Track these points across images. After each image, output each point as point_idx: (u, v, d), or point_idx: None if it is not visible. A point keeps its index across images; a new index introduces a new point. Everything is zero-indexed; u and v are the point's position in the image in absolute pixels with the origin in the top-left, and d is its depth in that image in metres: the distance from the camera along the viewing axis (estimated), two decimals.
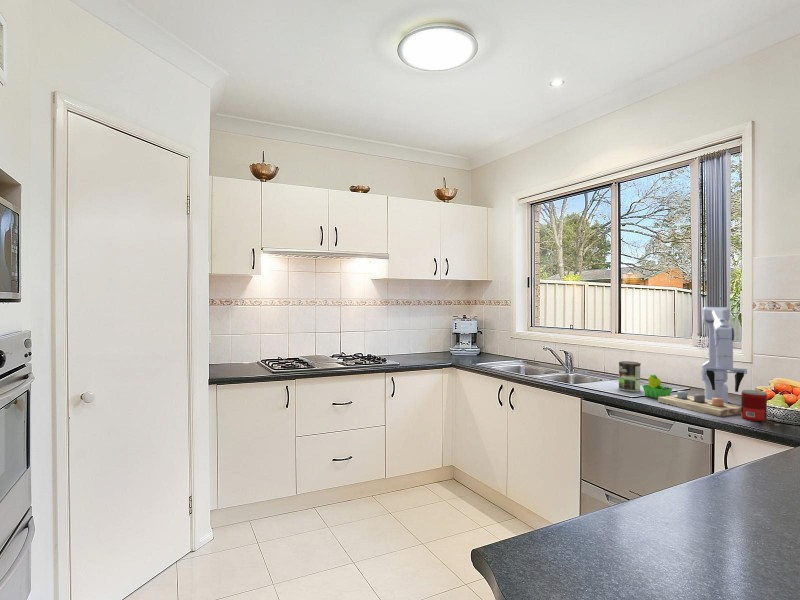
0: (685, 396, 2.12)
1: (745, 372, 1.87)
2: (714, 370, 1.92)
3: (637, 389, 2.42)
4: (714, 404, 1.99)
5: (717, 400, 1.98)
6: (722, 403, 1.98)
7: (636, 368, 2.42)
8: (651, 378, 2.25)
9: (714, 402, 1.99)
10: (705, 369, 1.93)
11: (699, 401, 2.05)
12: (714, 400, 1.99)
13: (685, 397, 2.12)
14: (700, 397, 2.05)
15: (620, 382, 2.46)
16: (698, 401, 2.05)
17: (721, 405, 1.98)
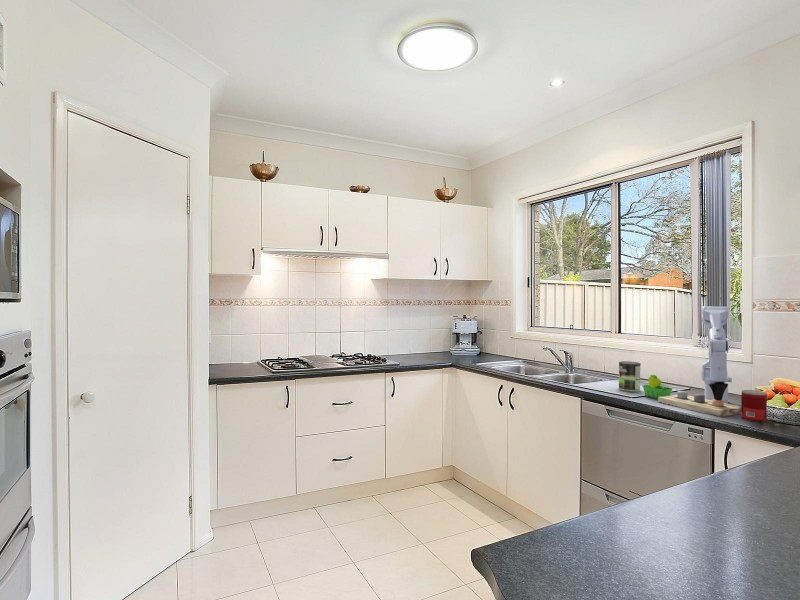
0: (685, 396, 2.12)
1: (731, 380, 2.01)
2: (713, 381, 1.98)
3: (637, 389, 2.42)
4: (714, 405, 1.99)
5: (717, 401, 1.98)
6: (722, 404, 1.98)
7: (636, 368, 2.42)
8: (651, 378, 2.25)
9: (714, 403, 1.99)
10: (710, 382, 1.96)
11: (699, 401, 2.05)
12: (714, 401, 1.99)
13: (685, 397, 2.12)
14: (700, 397, 2.05)
15: (620, 382, 2.46)
16: (698, 401, 2.05)
17: (721, 406, 1.98)
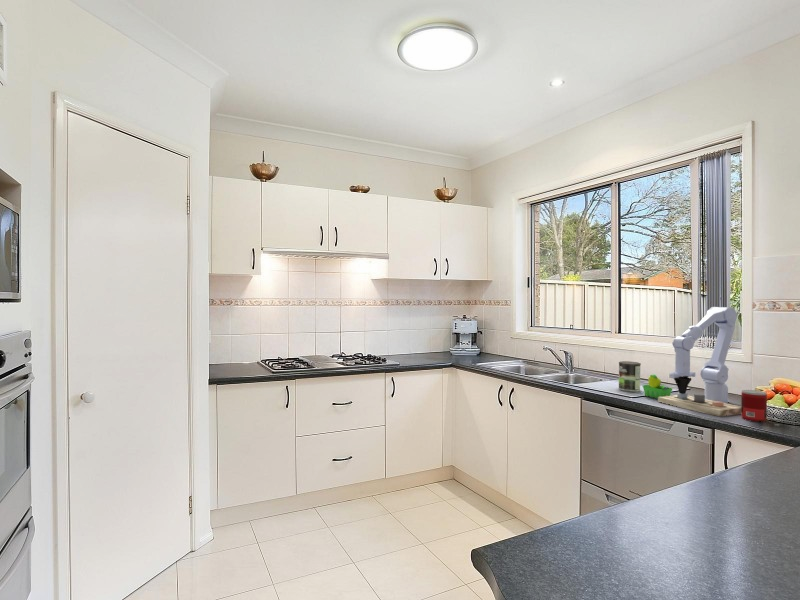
0: (685, 398, 2.12)
1: (694, 375, 2.16)
2: (677, 376, 2.13)
3: (637, 389, 2.42)
4: None
5: (717, 403, 1.98)
6: (722, 406, 1.98)
7: (636, 368, 2.42)
8: (651, 378, 2.25)
9: (714, 405, 1.99)
10: (674, 376, 2.11)
11: (699, 401, 2.05)
12: (714, 403, 1.99)
13: (685, 399, 2.12)
14: (700, 397, 2.05)
15: (620, 382, 2.46)
16: (698, 401, 2.05)
17: None
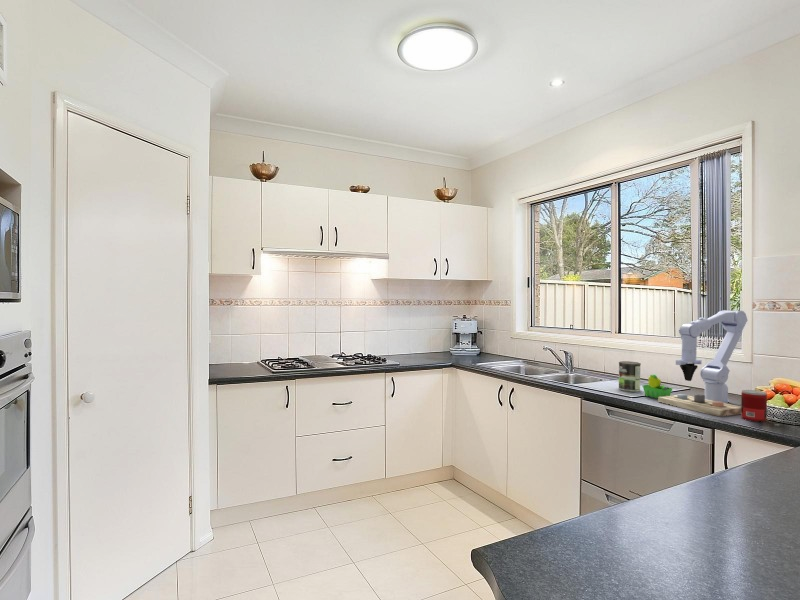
0: (685, 399, 2.12)
1: (700, 363, 2.16)
2: (683, 363, 2.13)
3: (637, 389, 2.42)
4: None
5: (717, 403, 1.98)
6: (722, 406, 1.98)
7: (636, 368, 2.42)
8: (651, 378, 2.25)
9: (714, 405, 1.99)
10: (680, 363, 2.11)
11: (699, 401, 2.05)
12: (714, 403, 1.99)
13: None
14: (700, 397, 2.05)
15: (620, 382, 2.46)
16: (698, 401, 2.05)
17: None
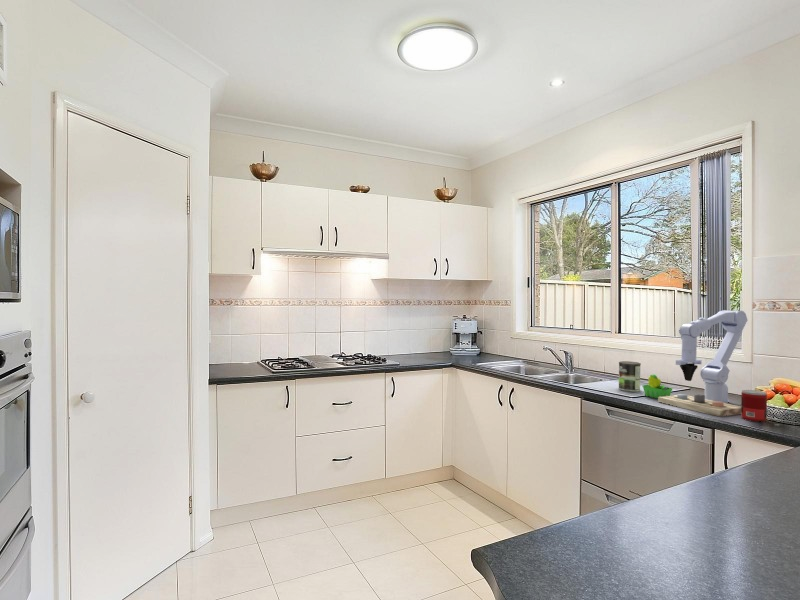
0: (685, 399, 2.12)
1: (700, 363, 2.16)
2: (683, 363, 2.13)
3: (637, 389, 2.42)
4: None
5: (717, 403, 1.98)
6: (722, 406, 1.98)
7: (636, 368, 2.42)
8: (651, 378, 2.25)
9: (714, 405, 1.99)
10: (680, 363, 2.11)
11: (699, 401, 2.05)
12: (714, 403, 1.99)
13: None
14: (700, 397, 2.05)
15: (620, 382, 2.46)
16: (698, 401, 2.05)
17: None
